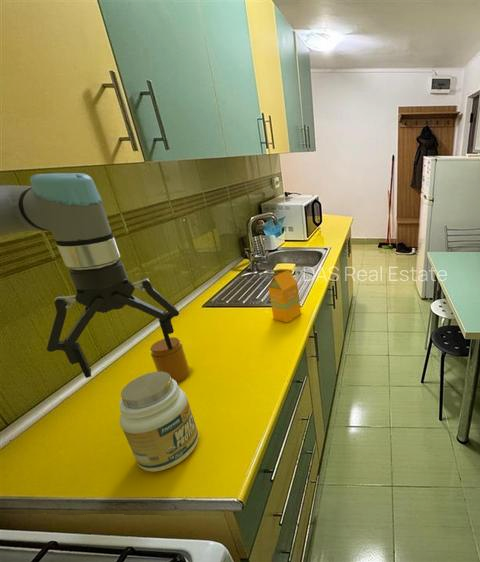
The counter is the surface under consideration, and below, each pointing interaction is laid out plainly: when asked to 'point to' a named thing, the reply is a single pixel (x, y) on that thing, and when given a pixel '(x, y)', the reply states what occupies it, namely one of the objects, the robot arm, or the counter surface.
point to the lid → (147, 390)
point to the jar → (170, 359)
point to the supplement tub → (160, 431)
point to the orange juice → (284, 297)
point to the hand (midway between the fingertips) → (131, 359)
